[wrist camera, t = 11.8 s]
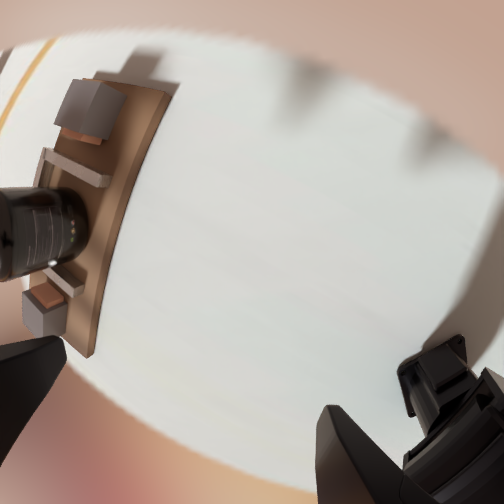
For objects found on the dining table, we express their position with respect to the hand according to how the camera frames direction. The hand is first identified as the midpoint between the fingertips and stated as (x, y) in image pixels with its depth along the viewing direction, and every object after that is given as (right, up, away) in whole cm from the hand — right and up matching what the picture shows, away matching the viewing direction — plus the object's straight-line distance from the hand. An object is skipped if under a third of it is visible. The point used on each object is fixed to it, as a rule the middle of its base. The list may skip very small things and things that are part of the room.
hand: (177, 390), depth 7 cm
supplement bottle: (-14, +7, +13) cm, 21 cm away
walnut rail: (-14, +7, +14) cm, 21 cm away
